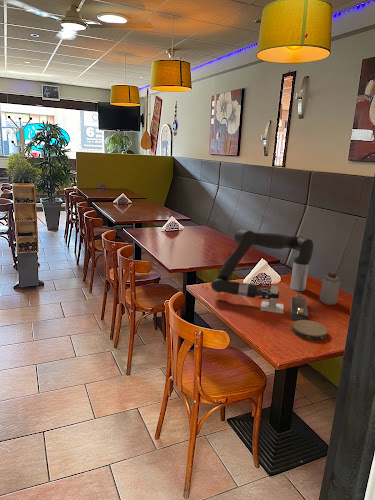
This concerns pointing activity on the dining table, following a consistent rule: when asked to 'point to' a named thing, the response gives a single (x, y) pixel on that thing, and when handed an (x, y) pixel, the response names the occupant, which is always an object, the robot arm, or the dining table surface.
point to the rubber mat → (272, 307)
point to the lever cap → (273, 291)
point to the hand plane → (299, 308)
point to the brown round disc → (309, 330)
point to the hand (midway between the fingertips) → (278, 294)
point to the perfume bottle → (330, 289)
